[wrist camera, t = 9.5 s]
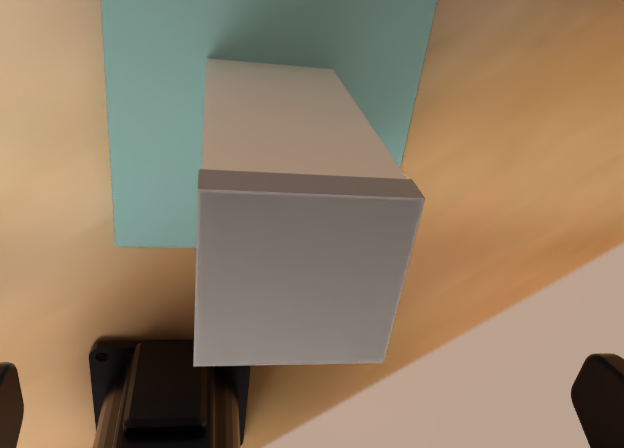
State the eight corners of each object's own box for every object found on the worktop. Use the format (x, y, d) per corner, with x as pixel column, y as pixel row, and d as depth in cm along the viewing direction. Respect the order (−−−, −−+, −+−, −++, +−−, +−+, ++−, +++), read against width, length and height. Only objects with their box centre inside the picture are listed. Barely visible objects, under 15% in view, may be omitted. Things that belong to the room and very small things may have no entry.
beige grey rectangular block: (318, 182, 20) (383, 362, 12) (201, 176, 19) (193, 366, 11) (334, 67, 18) (425, 198, 10) (204, 56, 17) (197, 189, 9)
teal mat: (378, 245, 22) (381, 252, 22) (117, 238, 20) (115, 246, 20) (436, -24, 17) (441, -22, 17) (100, -66, 15) (96, -65, 15)
